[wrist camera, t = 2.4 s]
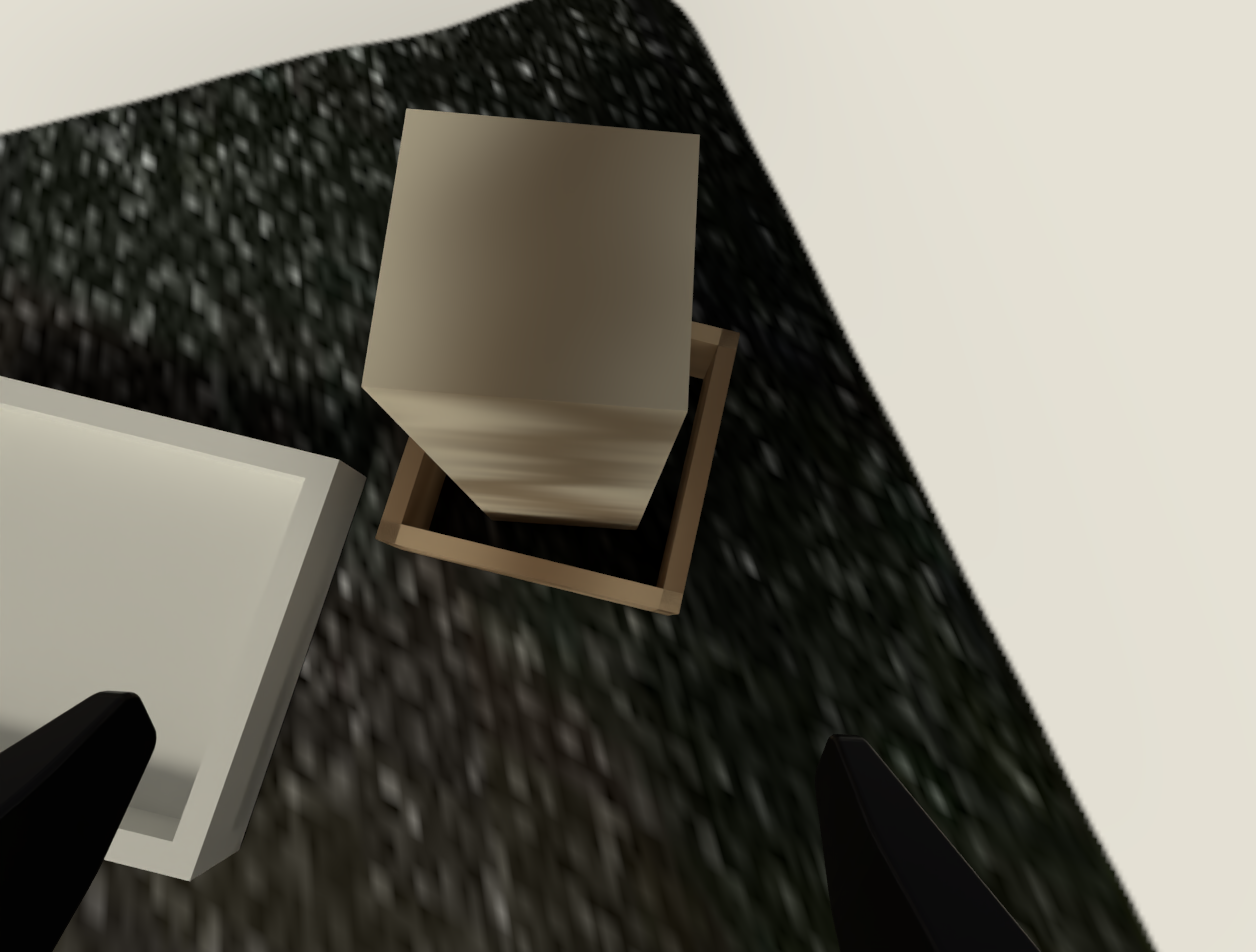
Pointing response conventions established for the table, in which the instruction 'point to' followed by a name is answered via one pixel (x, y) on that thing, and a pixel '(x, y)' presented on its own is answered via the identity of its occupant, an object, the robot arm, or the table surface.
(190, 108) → the table surface
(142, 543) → the white tray
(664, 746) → the table surface
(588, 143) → the maple block
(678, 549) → the oak collar
